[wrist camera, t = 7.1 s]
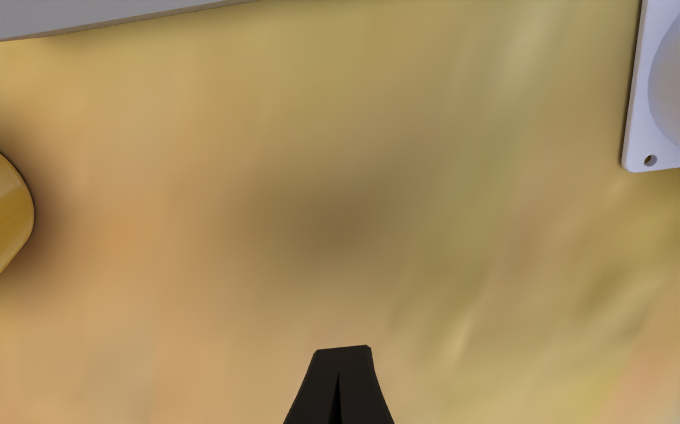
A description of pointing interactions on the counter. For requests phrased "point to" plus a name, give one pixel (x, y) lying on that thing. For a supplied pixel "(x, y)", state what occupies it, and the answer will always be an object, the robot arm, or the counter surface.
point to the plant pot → (13, 212)
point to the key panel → (87, 14)
